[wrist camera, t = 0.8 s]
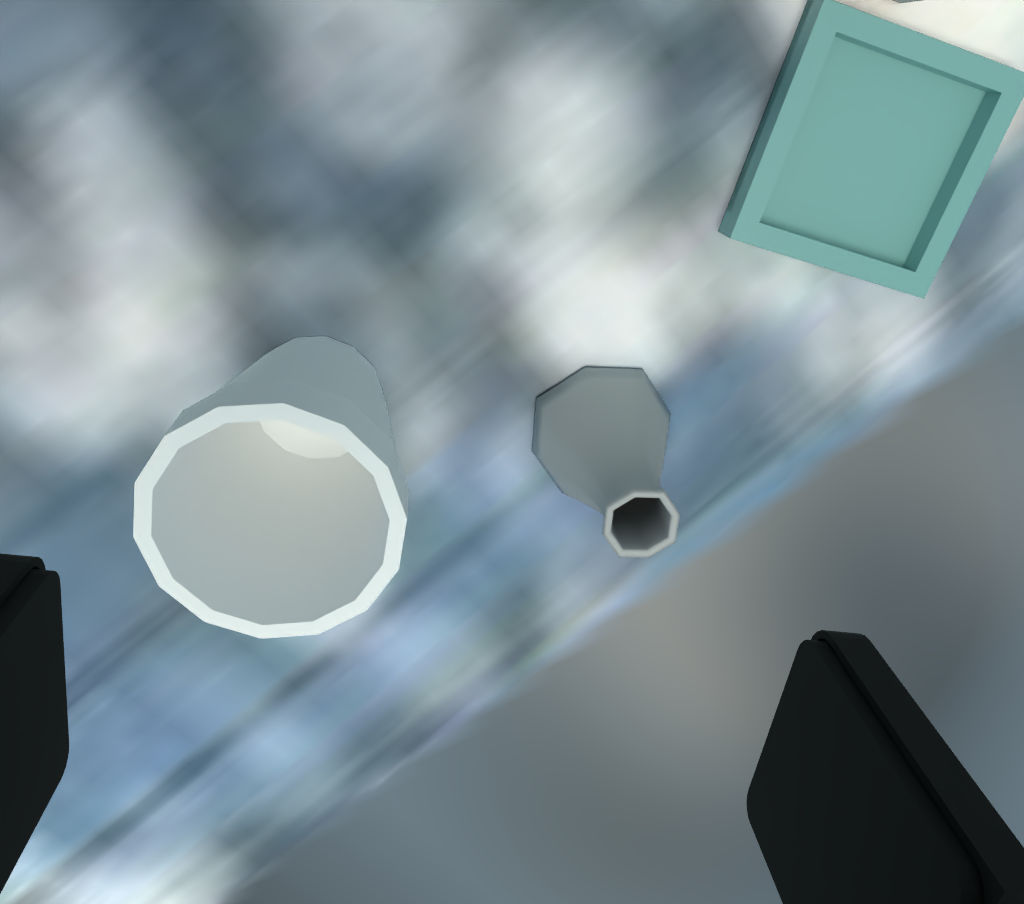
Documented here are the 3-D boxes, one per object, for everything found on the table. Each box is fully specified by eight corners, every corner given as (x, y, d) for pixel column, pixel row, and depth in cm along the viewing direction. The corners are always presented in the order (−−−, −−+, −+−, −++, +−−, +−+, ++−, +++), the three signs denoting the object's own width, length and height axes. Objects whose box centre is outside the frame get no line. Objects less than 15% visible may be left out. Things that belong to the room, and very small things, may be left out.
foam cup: (408, 299, 41) (395, 396, 29) (423, 477, 45) (417, 627, 33) (202, 310, 40) (103, 413, 28) (235, 489, 44) (159, 646, 32)
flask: (513, 384, 43) (533, 471, 34) (655, 345, 43) (714, 422, 34) (548, 509, 46) (575, 619, 37) (681, 473, 46) (742, 575, 37)
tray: (718, 230, 41) (730, 238, 39) (808, 0, 37) (825, -3, 35) (905, 289, 42) (923, 298, 41) (1008, 75, 39) (1033, 75, 37)
